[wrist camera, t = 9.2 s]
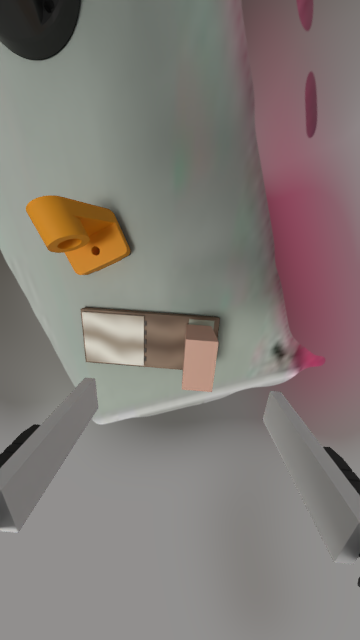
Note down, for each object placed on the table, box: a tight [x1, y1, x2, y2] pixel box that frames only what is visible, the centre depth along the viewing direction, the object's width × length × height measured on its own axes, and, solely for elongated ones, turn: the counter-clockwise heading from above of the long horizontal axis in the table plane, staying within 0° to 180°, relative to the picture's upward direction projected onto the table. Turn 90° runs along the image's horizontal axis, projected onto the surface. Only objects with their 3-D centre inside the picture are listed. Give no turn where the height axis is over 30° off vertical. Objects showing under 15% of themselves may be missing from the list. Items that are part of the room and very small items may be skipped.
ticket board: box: [81, 307, 220, 370], centre depth 35 cm, size 12×28×2 cm, turn 86°
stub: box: [182, 324, 219, 392], centre depth 30 cm, size 9×5×8 cm, turn 176°
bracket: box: [26, 196, 130, 275], centre depth 26 cm, size 11×7×12 cm, turn 113°
